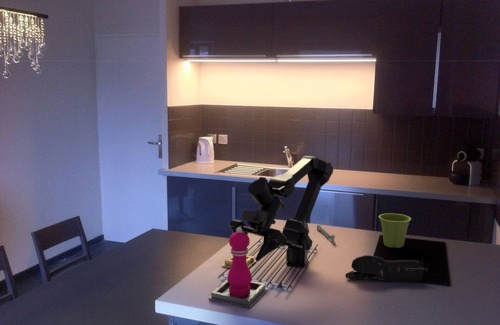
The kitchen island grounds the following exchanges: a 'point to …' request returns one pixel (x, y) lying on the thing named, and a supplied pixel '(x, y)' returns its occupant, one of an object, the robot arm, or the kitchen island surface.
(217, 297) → the graphite square tray
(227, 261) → the brass square tray
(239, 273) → the pepper mill
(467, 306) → the kitchen island surface
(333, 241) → the combination wrench
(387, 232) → the plant pot
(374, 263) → the black glove
